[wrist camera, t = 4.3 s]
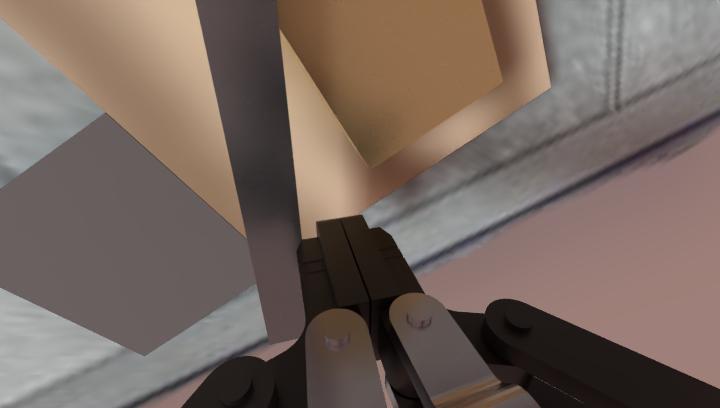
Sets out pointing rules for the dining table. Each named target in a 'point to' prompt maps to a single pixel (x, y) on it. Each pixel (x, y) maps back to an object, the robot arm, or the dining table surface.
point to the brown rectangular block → (391, 64)
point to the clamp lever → (259, 149)
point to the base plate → (305, 107)
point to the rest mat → (117, 241)
